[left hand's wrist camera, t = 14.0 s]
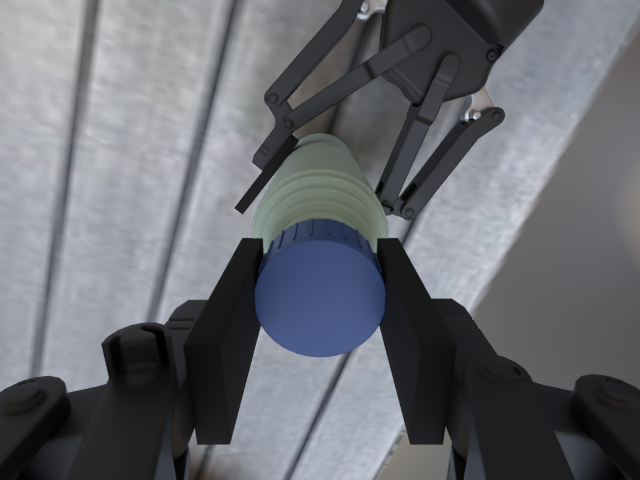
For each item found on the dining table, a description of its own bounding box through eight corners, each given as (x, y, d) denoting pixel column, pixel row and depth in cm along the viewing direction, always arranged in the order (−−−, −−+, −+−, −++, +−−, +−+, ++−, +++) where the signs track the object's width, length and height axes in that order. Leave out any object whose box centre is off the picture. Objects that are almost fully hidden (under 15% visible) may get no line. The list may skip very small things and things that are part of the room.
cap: (363, 203, 14) (371, 222, 11) (389, 308, 15) (400, 342, 13) (246, 234, 14) (233, 258, 12) (281, 333, 15) (275, 370, 13)
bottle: (364, 146, 35) (449, 236, 12) (341, 211, 37) (376, 393, 14) (296, 123, 34) (250, 174, 11) (276, 191, 36) (204, 348, 13)
